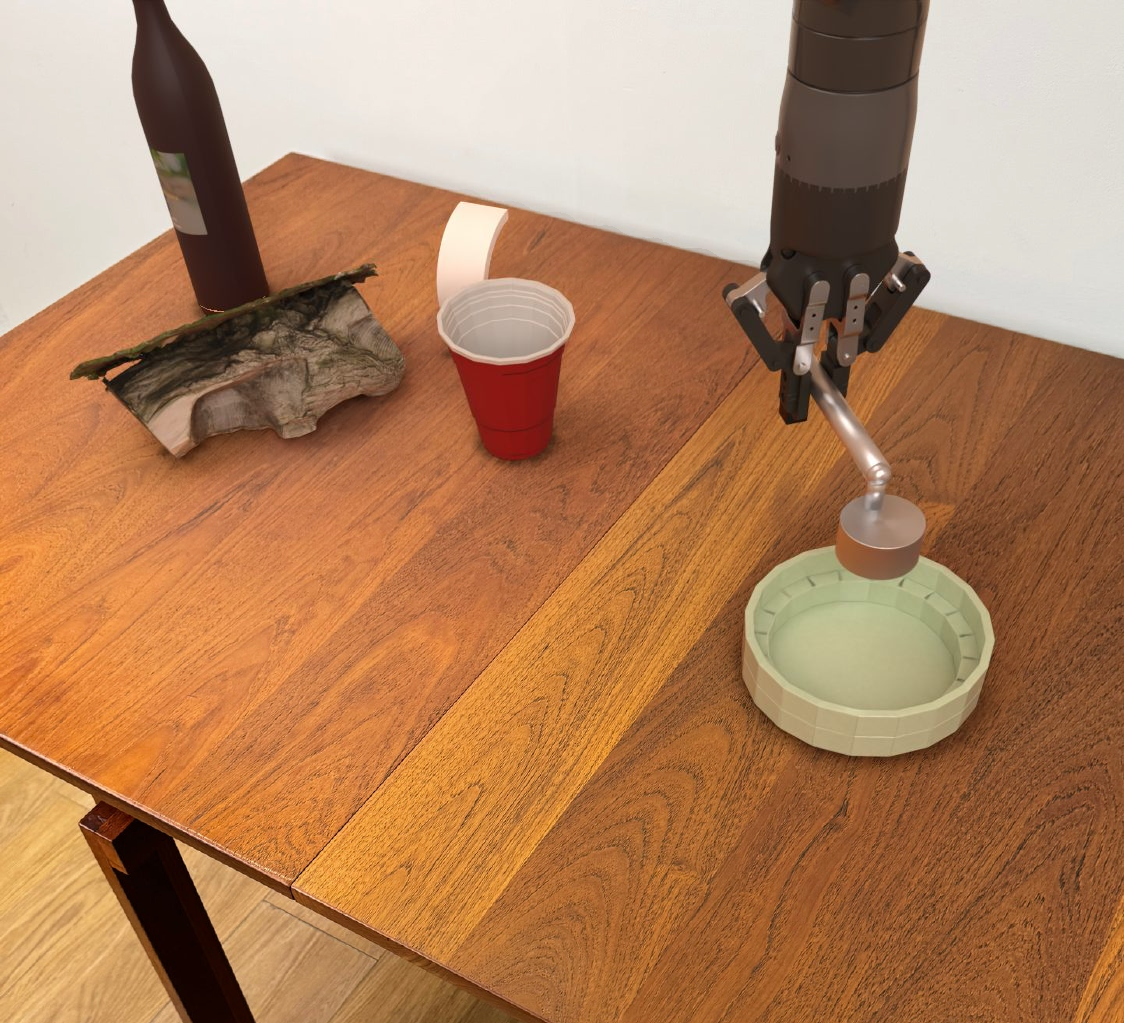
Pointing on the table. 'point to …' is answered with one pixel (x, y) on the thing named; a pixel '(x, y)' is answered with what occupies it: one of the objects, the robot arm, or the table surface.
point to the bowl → (865, 654)
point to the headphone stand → (467, 247)
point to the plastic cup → (508, 359)
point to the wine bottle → (194, 163)
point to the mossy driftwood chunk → (257, 365)
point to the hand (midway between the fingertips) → (811, 409)
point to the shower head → (867, 495)
